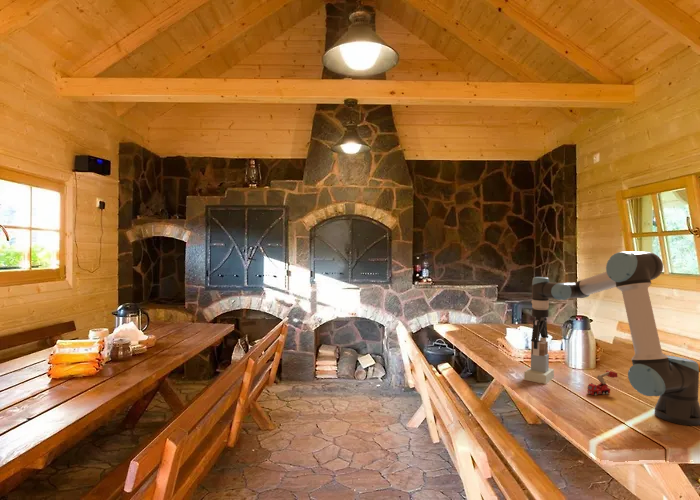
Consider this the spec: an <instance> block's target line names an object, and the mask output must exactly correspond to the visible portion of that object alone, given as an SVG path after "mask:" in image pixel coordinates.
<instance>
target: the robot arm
mask: <svg viewBox="0 0 700 500" xmlns="http://www.w3.org/2000/svg"><path fill="white" fill-rule="evenodd" d="M605 266H606V267H605V272H601V273H598V274H595V275H591V276H590V277H587V278H584V279H581V280H578V281H575V282H550V278H549V277H545V276H535V277H533V278H532V281H531V282H532V283H531V286H532V287H531V288H532V289H531V290H532V291H531V294H532V297H531V298H532V299H531V301H530V304H532V305H531V308H532V309H531V315H532V317H534V318H535V320H533V322H532V323H533V324H532V325H533V326H532V333H531V339H530V342H533V355H536V356H539V340H540V341H547V339H548V338H549V336H548V335H549V334H548V326H547V325H548V324H547V322H548V319H547V318H548V317H549V308H550V307H549V306H550V303H549V302H550V299H553V300H554V299H555V300H558V301H565V300H568V299H584V298H588V297H589V296H590V295H593V294H596V293H600V292H603V291H607V290H610V289H614V288H616V289H618V290H619V291H621V294H622V298H623V299H622V300H623V303H624V308H625V312H626V318H627V322H628V326H629V331H630V336H631V340H632V344H633V345H632V346H633V351H634V355H633V356H632V357H631V362H632V363H631V364H632V366H630V367H629V369H628V371H627V378H628V381H629V383H630V385H631V386H632V388H633V389H634V390H635V391H637V393H639V394H641V395H643V396H646V397H658V399H657V402H656V404H655V406H654V415H655V416H656V417H657V418H658V419H661V420H664V421H665V422H670V423H673V424H678V425H684V426H694V427H695V426H700V403H699V384H700V383H699V379H700V377H699V376H700V371H699V369H700V368H699V364H698V362H697V361H695V360H692V359H688V358H684V357H679V356H674V355H667V354H664V352H662V351H663V350H662V347H661V341H660V338H659V334H658V329H657V324H656V319H655V315H654V310H653V305H652V301H651V297H650V293H649V287H650V286H651V285H652V281H653V280H655V279H657V278H659V276H660V275H662V273H663V270H664V264H663V261H662V259H661V258H660V256H658V255H657V254H655V253H654V252H650V251H620V252H616V253H613V255H611V256H610V257H609V259H608V260H607V263H606V265H605Z"/></svg>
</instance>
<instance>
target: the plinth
mask: <svg viewBox="0 0 700 500" xmlns="http://www.w3.org/2000/svg"><path fill="white" fill-rule="evenodd" d="M523 373H524V376H523V379H524V381H528V382H529V381H530V382H534V383H539V384H544V385H547V383H549V382H550V381H551V380H553V378H554V377H555V369H554V368H550V367H549V370H548V371H547V372H546V373H545V372H539V371H533V370H531V367H529V368H528V369H526V370H525V371H524V372H523Z"/></svg>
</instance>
